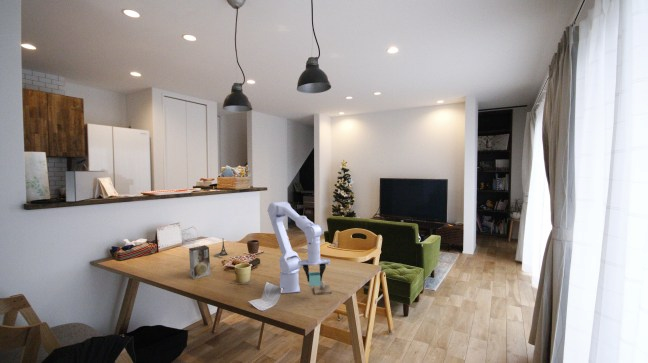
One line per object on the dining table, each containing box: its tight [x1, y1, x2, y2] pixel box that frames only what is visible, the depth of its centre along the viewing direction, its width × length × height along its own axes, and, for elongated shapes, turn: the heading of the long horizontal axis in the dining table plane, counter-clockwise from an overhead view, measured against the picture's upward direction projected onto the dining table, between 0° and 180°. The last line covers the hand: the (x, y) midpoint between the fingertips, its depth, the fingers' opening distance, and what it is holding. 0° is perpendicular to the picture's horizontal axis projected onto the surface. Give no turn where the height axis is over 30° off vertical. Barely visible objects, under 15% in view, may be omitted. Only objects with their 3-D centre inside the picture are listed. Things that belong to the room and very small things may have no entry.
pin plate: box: [313, 280, 333, 296], centre depth 140 cm, size 8×8×4 cm
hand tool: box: [247, 257, 261, 266], centre depth 174 cm, size 19×4×5 cm, turn 152°
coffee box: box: [188, 244, 211, 280], centre depth 163 cm, size 9×6×16 cm
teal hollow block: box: [308, 271, 321, 287], centre depth 132 cm, size 5×5×4 cm
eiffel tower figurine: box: [213, 239, 229, 259], centre depth 203 cm, size 15×10×13 cm
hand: (314, 280), depth 132 cm, fingers closed on teal hollow block, 5 cm apart
